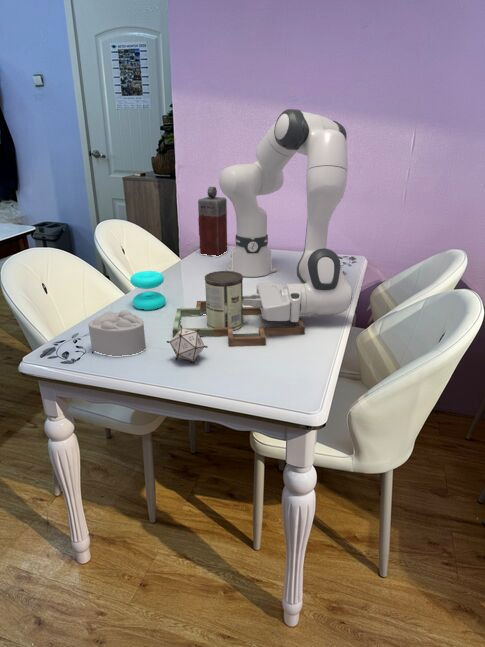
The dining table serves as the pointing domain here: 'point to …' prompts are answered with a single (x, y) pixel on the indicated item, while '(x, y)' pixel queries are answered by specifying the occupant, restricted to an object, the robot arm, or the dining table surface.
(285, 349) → the dining table surface
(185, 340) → the game die
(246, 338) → the brown wooden frame
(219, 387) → the dining table surface
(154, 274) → the donuts
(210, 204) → the red grey square bottle
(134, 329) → the lumpy-topped squat cylinder
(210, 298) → the coffee can
